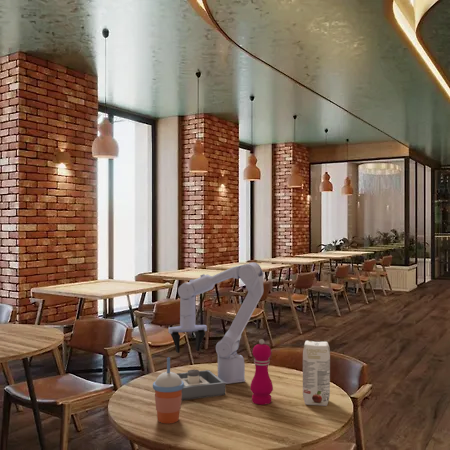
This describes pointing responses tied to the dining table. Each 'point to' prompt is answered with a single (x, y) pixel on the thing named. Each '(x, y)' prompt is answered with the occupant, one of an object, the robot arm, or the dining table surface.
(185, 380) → the inlet socket
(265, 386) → the pepper mill
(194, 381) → the connector peg
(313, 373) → the juice carton
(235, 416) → the dining table surface
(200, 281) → the robot arm
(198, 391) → the walled box
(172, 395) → the cup with straw
